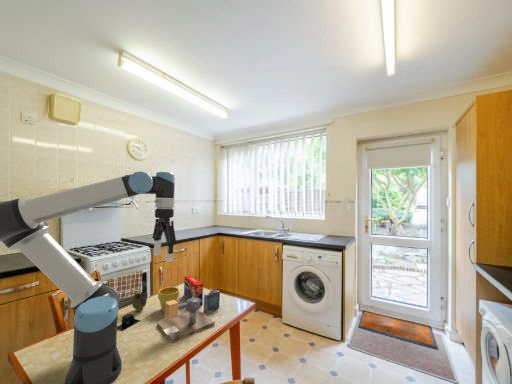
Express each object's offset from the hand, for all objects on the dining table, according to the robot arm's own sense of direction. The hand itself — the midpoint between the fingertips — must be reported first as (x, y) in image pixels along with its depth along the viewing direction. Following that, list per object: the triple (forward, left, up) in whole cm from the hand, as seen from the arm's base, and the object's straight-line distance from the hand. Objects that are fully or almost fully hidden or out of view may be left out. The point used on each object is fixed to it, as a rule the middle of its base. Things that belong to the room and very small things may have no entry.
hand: (163, 258), depth 98 cm
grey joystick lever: (+10, -1, -25) cm, 27 cm away
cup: (0, +30, -33) cm, 45 cm away
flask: (+29, +7, -33) cm, 44 cm away
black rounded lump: (-8, +20, -34) cm, 40 cm away
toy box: (+27, +24, -33) cm, 49 cm away
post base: (+12, +2, -33) cm, 35 cm away
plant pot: (+12, +22, -33) cm, 41 cm away
